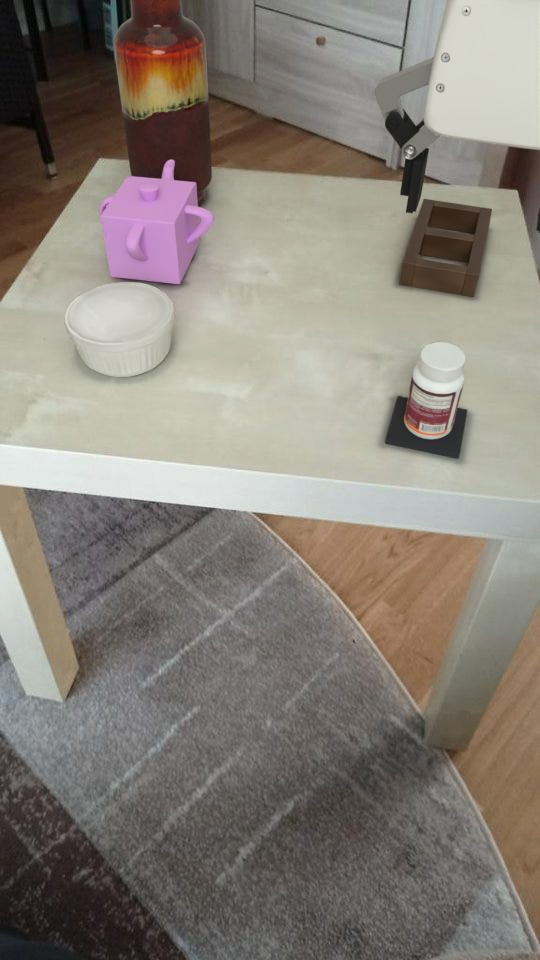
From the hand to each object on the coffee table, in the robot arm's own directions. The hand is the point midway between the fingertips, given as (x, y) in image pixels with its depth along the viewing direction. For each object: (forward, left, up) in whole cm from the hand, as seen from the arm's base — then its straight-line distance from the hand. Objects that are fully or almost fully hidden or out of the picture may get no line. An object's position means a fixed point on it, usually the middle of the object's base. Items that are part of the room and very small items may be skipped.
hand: (476, 214), depth 55 cm
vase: (+41, -36, -22) cm, 59 cm away
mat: (0, 0, -22) cm, 22 cm away
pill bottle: (0, 0, -22) cm, 22 cm away
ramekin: (+33, -2, -22) cm, 40 cm away
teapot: (+36, -20, -22) cm, 47 cm away
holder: (+2, -32, -22) cm, 39 cm away
